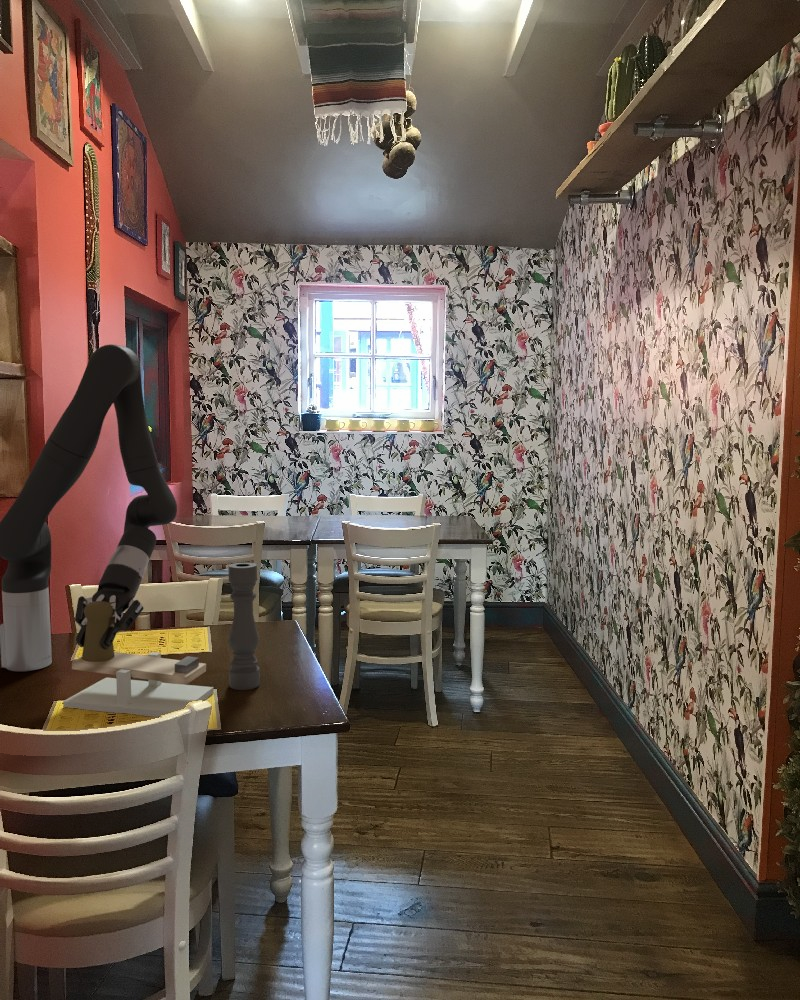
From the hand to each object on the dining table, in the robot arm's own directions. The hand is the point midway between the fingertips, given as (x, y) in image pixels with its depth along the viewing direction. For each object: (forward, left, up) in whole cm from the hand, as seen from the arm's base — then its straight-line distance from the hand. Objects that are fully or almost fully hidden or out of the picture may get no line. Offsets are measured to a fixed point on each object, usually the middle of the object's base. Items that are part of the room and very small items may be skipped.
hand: (92, 645), depth 154 cm
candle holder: (+25, +15, -11) cm, 31 cm away
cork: (0, +2, -3) cm, 4 cm away
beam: (+9, +2, -5) cm, 10 cm away
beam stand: (+9, +2, -11) cm, 14 cm away
